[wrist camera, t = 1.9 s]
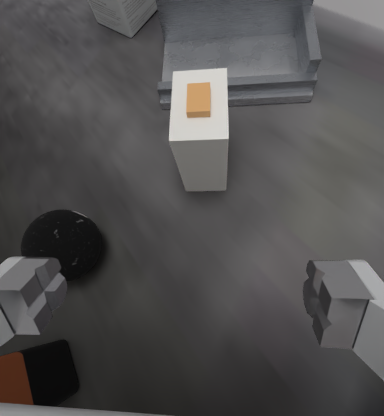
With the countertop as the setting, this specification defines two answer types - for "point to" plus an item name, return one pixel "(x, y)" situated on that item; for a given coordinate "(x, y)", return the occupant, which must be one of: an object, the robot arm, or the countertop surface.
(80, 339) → the countertop surface
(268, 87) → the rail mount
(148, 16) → the skincare box
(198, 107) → the block
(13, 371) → the battery
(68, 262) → the billiard ball
